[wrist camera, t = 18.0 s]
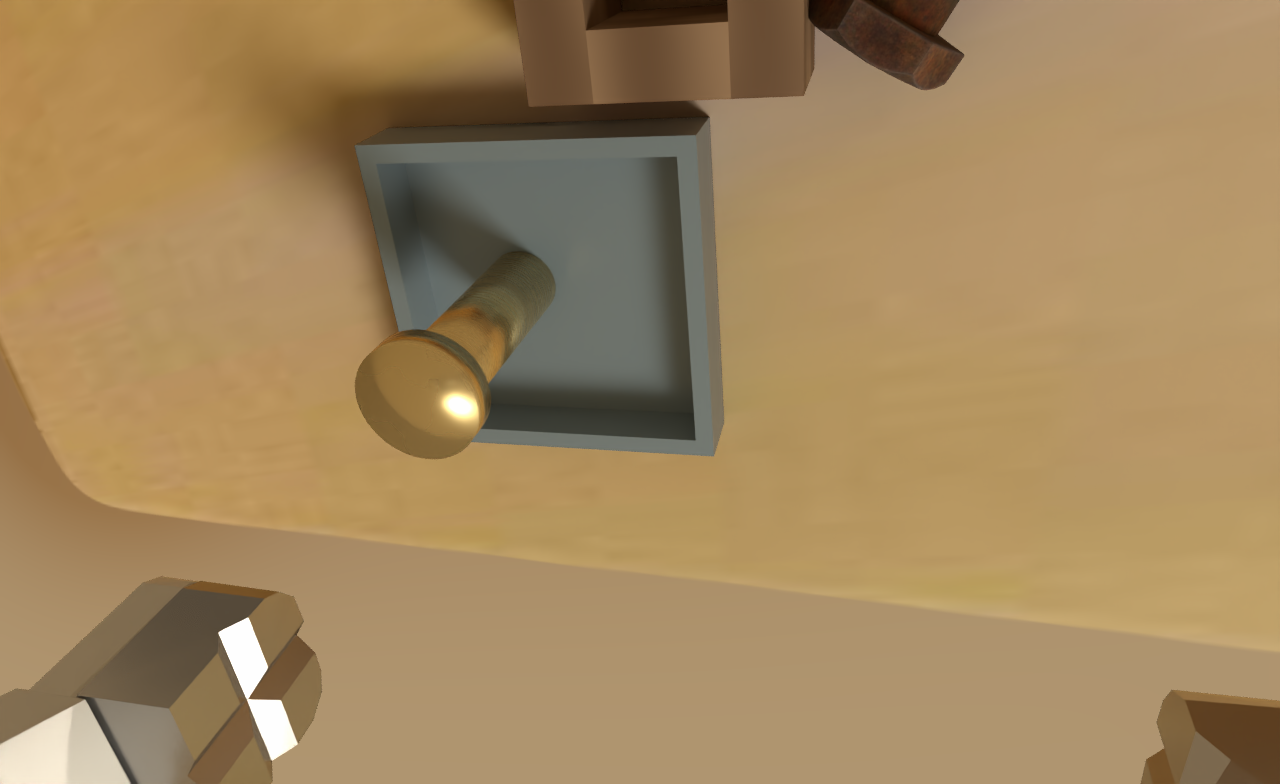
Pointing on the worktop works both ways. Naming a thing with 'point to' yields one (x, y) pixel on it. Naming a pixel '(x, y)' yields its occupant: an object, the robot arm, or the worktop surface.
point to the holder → (663, 51)
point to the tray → (568, 269)
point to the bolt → (893, 36)
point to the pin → (453, 361)
